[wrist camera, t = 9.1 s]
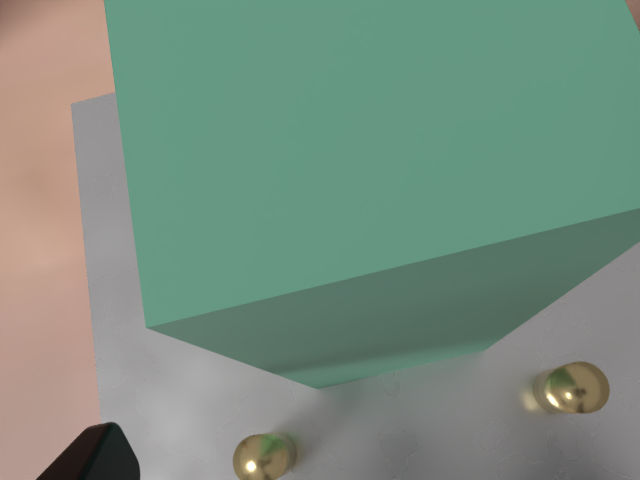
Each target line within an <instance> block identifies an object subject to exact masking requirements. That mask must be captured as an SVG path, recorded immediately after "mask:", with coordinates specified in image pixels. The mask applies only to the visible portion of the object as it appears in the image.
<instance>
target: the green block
mask: <svg viewBox="0 0 640 480" xmlns="http://www.w3.org/2000/svg"><path fill="white" fill-rule="evenodd" d="M104 5H105V13H106V21H107V28H108V36H109V44H110V52H111V60H112V68H113V75H114V83H115V91H116V99H117V107H118V115H119V122H120V130H121V138H122V146H123V154H124V162H125V169H126V177H127V185H128V193H129V201H130V209H131V216H132V224H133V232H134V240H135V248H136V256H137V263H138V271H139V279H140V287H141V295H142V302H143V310H144V318H145V326H146V328H147V329H150V330H153V331H156V332H159V333H161V334H164V335H167V336H170V337H172V338H175V339H178V340H181V341H184V342H186V343H189V344H192V345H195V346H198V347H200V348H203V349H206V350H209V351H211V352H214V353H217V354H220V355H223V356H225V357H228V358H231V359H234V360H237V361H239V362H242V363H245V364H248V365H250V366H253V367H256V368H259V369H262V370H264V371H267V372H270V373H273V374H276V375H278V376H281V377H284V378H287V379H289V380H292V381H295V382H298V383H301V384H303V385H306V386H309V387H312V388H315V389H320V388H325V387H329V386H333V385H337V384H342V383H346V382H350V381H354V380H359V379H363V378H367V377H372V376H376V375H380V374H384V373H389V372H393V371H397V370H401V369H406V368H410V367H414V366H418V365H423V364H427V363H431V362H436V361H440V360H444V359H448V358H453V357H457V356H461V355H465V354H470V353H474V352H478V351H483V350H486V349H488V348H489V347H491V346H492V345H494V344H495V343H496V342H498V341H499V340H501V339H502V338H503V337H505V336H506V335H508V334H509V333H511V332H512V331H513V330H515V329H516V328H518V327H519V326H521V325H522V324H523V323H525V322H526V321H528V320H529V319H530V318H532V317H533V316H535V315H536V314H538V313H539V312H540V311H542V310H543V309H545V308H546V307H548V306H549V305H550V304H552V303H553V302H555V301H556V300H557V299H559V298H560V297H562V296H563V295H565V294H566V293H567V292H569V291H570V290H572V289H573V288H575V287H576V286H577V285H579V284H580V283H582V282H583V281H584V280H586V279H587V278H589V277H590V276H592V275H593V274H594V273H596V272H597V271H599V270H600V269H602V268H603V267H604V266H606V265H607V264H609V263H610V262H611V261H613V260H614V259H616V258H617V257H619V256H620V255H621V254H623V253H624V252H626V251H627V250H629V249H630V248H631V247H633V246H634V245H636V244H637V243H638V242H640V32H639V30H638V28H637V25H636V23H635V21H634V19H633V17H632V15H631V12H630V10H629V8H628V6H627V4H626V2H625V0H104Z"/></svg>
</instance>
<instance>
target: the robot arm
mask: <svg viewBox="0 0 640 480" xmlns="http://www.w3.org/2000/svg"><path fill="white" fill-rule="evenodd" d="M36 480H140V465H139V462H138V459H137V457H136V455H135V453H134V451H133V449H132V447H131V445H130V444H129V442H128V440H127V438H126V436H125V434H124V432H123V430H122V429H121V427H120V426H119V425H118V424H117V423H115V422H107V423H102V424H98V425H94V426H90V427H88V428H86V429H85V430H84V431H83V432H82V433H81V434H80V435H79V436H78V437H77V438H76V439H75V440H74V441H73V442H72V443H71V444H70V445H69V446H68V447H67V448H66V449H65V450H64V451H63V452H62V453H61V454H60V455H59V456H58V457H57V458H56V459H55V461H54V462H53V463H52V464H51V465H50V466H49V467H48V468H47V469H46V470H45V471H44V472H43V473H42V474H41V475H40V476H39V477H38V478H37V479H36Z"/></svg>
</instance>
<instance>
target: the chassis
mask: <svg viewBox="0 0 640 480" xmlns="http://www.w3.org/2000/svg"><path fill="white" fill-rule="evenodd" d="M71 110H72V121H73V131H74V142H75V152H76V163H77V173H78V183H79V194H80V204H81V215H82V225H83V236H84V246H85V257H86V267H87V278H88V288H89V299H90V309H91V320H92V330H93V341H94V351H95V362H96V372H97V382H98V393H99V403H100V414H101V424H102V423H107V422H115V423H117V424H118V425H119V426H120V427H121V429H122V430H123V432H124V434H125V436H126V438H127V440H128V442H129V444H130V445H131V447H132V449H133V451H134V453H135V455H136V457H137V459H138V462H139V465H140V480H640V242H638V243H637V244H636V245H634V246H633V247H631V248H630V249H629V250H627V251H626V252H624V253H623V254H621V255H620V256H619V257H617V258H616V259H614V260H613V261H611V262H610V263H609V264H607V265H606V266H604V267H603V268H602V269H600V270H599V271H597V272H596V273H594V274H593V275H592V276H590V277H589V278H587V279H586V280H584V281H583V282H582V283H580V284H579V285H577V286H576V287H575V288H573V289H572V290H570V291H569V292H567V293H566V294H565V295H563V296H562V297H560V298H559V299H557V300H556V301H555V302H553V303H552V304H550V305H549V306H548V307H546V308H545V309H543V310H542V311H540V312H539V313H538V314H536V315H535V316H533V317H532V318H530V319H529V320H528V321H526V322H525V323H523V324H522V325H521V326H519V327H518V328H516V329H515V330H513V331H512V332H511V333H509V334H508V335H506V336H505V337H503V338H502V339H501V340H499V341H498V342H496V343H495V344H494V345H492V346H491V347H489V348H488V349H486V350H483V351H478V352H474V353H470V354H465V355H461V356H457V357H453V358H448V359H444V360H440V361H436V362H431V363H427V364H423V365H418V366H414V367H410V368H406V369H401V370H397V371H393V372H389V373H384V374H380V375H376V376H372V377H367V378H363V379H359V380H354V381H350V382H346V383H342V384H337V385H333V386H329V387H325V388H320V389H315V388H312V387H309V386H306V385H303V384H301V383H298V382H295V381H292V380H289V379H287V378H284V377H281V376H278V375H276V374H273V373H270V372H267V371H264V370H262V369H259V368H256V367H253V366H250V365H248V364H245V363H242V362H239V361H237V360H234V359H231V358H228V357H225V356H223V355H220V354H217V353H214V352H211V351H209V350H206V349H203V348H200V347H198V346H195V345H192V344H189V343H186V342H184V341H181V340H178V339H175V338H172V337H170V336H167V335H164V334H161V333H159V332H156V331H153V330H150V329H147V328H146V326H145V318H144V310H143V302H142V295H141V287H140V279H139V271H138V263H137V256H136V248H135V240H134V232H133V224H132V216H131V209H130V201H129V193H128V185H127V177H126V169H125V162H124V154H123V146H122V138H121V130H120V122H119V115H118V107H117V99H116V92H115V93H111V94H107V95H103V96H100V97H96V98H92V99H88V100H84V101H80V102H76V103H72V104H71Z"/></svg>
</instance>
